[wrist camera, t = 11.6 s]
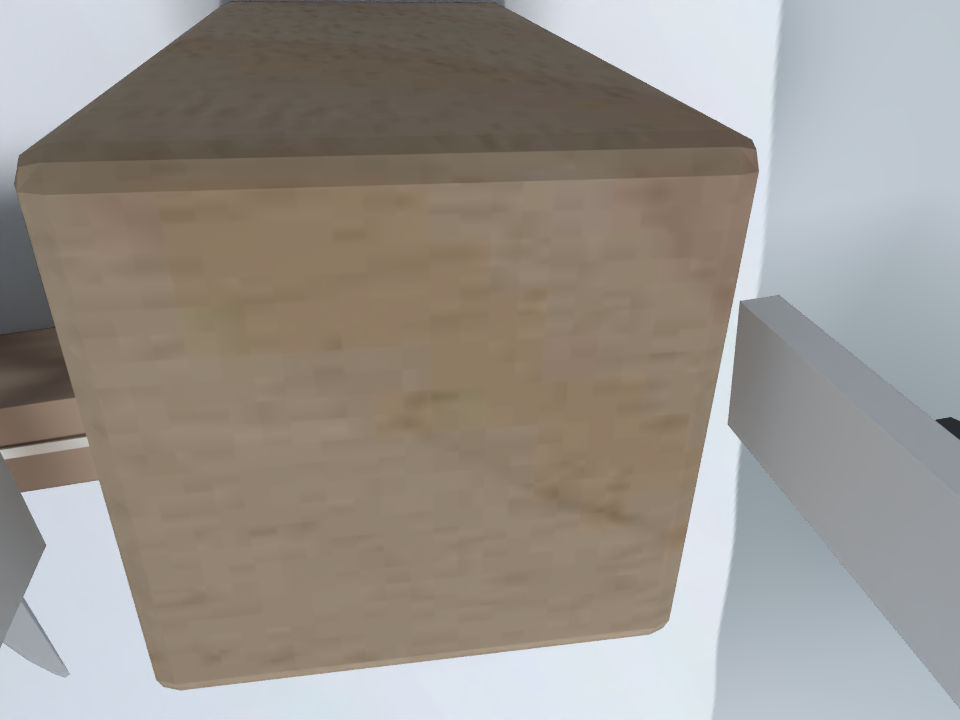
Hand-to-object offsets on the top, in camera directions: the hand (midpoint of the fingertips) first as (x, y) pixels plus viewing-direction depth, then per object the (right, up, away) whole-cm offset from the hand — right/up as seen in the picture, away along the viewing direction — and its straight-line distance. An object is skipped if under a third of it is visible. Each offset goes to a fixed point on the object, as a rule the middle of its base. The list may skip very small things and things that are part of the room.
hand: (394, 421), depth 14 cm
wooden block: (-3, +9, +16) cm, 19 cm away
